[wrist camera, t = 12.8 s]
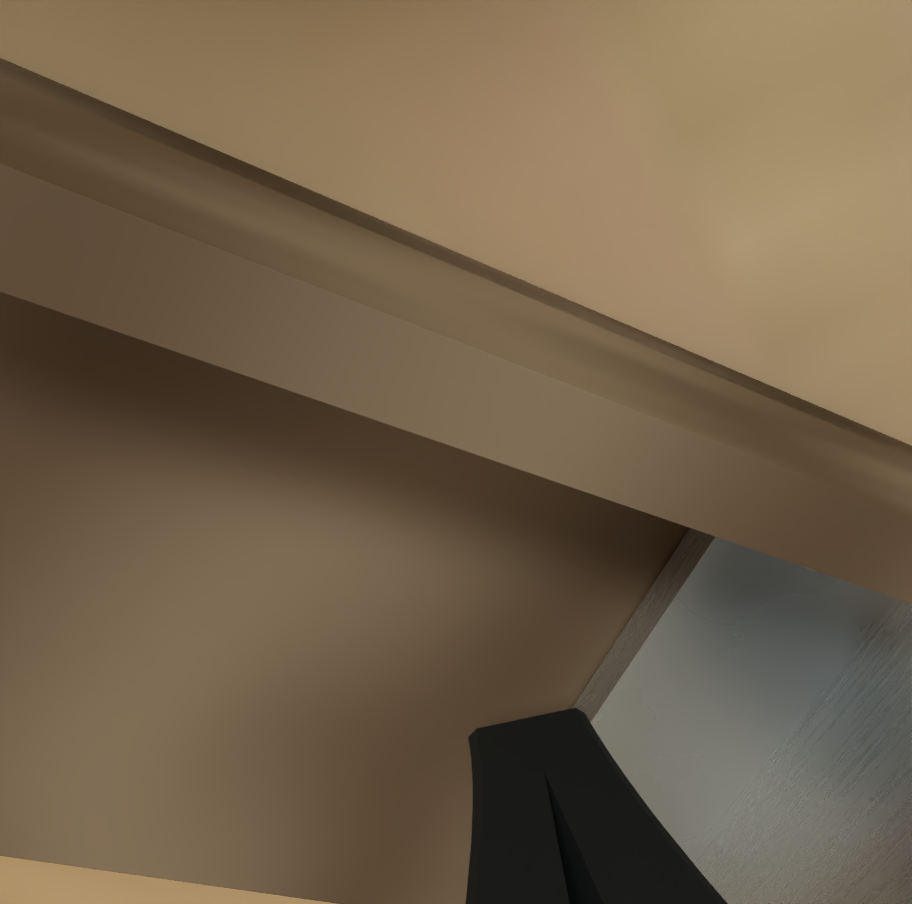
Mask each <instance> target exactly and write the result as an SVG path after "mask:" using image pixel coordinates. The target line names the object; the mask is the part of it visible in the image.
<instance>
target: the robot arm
mask: <svg viewBox="0 0 912 904" xmlns="http://www.w3.org/2000/svg"><path fill="white" fill-rule="evenodd" d="M468 740H469V746H470V753H471V763H472V782H473V809H472V834H471V850H470V861H469V872H468V883H467V894H466V904H728V903H727V902H726V901H725V900H724V899H723V898H722V896H721V895H720V894H719V893H718V892H717V891H716V889H715V888H714V887H713V886H712V885H711V884H710V882H709V881H708V880H707V879H706V878H705V877H704V875H703V874H702V873H701V872H700V871H699V869H698V868H697V867H696V866H695V864H694V863H693V862H692V861H691V860H690V858H689V857H688V856H687V855H686V853H685V852H684V851H683V850H682V849H681V847H680V846H679V845H678V844H677V842H676V841H675V840H674V839H673V838H672V836H671V835H670V834H669V833H668V831H667V830H666V829H665V828H664V826H663V825H662V824H661V823H660V821H659V820H658V819H657V817H656V816H655V815H654V814H653V812H652V811H651V810H650V808H649V807H648V806H647V804H646V803H645V802H644V800H643V799H642V798H641V796H640V795H639V794H638V792H637V791H636V790H635V788H634V787H633V785H632V784H631V783H630V781H629V780H628V779H627V777H626V776H625V775H624V773H623V772H622V770H621V769H620V767H619V766H618V764H617V763H616V762H615V760H614V759H613V757H612V756H611V754H610V753H609V751H608V750H607V748H606V747H605V745H604V744H603V742H602V741H601V739H600V737H599V736H598V734H597V733H596V731H595V729H594V728H593V726H592V724H591V723H590V721H589V719H588V717H587V716H586V714H585V713H584V712H582V711H581V710H579V709H577V708H572V709H567V710H562V711H557V712H553V713H548V714H543V715H538V716H534V717H529V718H524V719H519V720H515V721H510V722H505V723H500V724H496V725H491V726H486V727H481V728H477V729H475V731H474V732H473V733H472V734H471V735H470V736H469V737H468Z"/></svg>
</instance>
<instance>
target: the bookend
mask: <svg viewBox="0 0 912 904" xmlns="http://www.w3.org/2000/svg"><path fill="white" fill-rule="evenodd" d="M572 708H577V709H579V710H581V711H582V712H584V713H585V714H586V716H587V717H588V719H589V721H590V723H591V724H592V726H593V728H594V729H595V731H596V733H597V734H598V736H599V737H600V739H601V741H602V742H603V744H604V745H605V747H606V748H607V750H608V751H609V753H610V754H611V756H612V757H613V759H614V760H615V762H616V763H617V764H618V766H619V767H620V769H621V770H622V772H623V773H624V775H625V776H626V777H627V779H628V780H629V781H630V783H631V784H632V785H633V787H634V788H635V790H636V791H637V792H638V794H639V795H640V796H641V798H642V799H643V800H644V802H645V803H646V804H647V806H648V807H649V808H650V810H651V811H652V812H653V814H654V815H655V816H656V817H657V819H658V820H659V821H660V823H661V824H662V825H663V826H664V828H665V829H666V830H667V831H668V833H669V834H670V835H671V836H672V838H673V839H674V840H675V841H676V842H677V844H678V845H679V846H680V847H681V849H682V850H683V851H684V852H685V853H686V855H687V856H688V857H689V858H690V860H691V861H692V862H693V863H694V864H695V866H696V867H697V868H698V869H699V871H700V872H701V873H702V874H703V875H704V877H705V878H706V879H707V880H708V881H709V882H710V884H711V885H712V886H713V887H714V888H715V889H716V891H717V892H718V893H719V894H720V895H721V896H722V898H723V899H724V900H725V901H726V902H727V903H728V904H912V604H911V603H908V602H905V601H902V600H899V599H896V598H893V597H890V596H888V595H885V594H882V593H879V592H876V591H873V590H870V589H867V588H864V587H861V586H858V585H855V584H853V583H850V582H847V581H844V580H841V579H838V578H835V577H832V576H829V575H826V574H823V573H820V572H817V571H815V570H812V569H809V568H806V567H803V566H800V565H797V564H794V563H791V562H788V561H785V560H782V559H779V558H777V557H774V556H771V555H768V554H765V553H762V552H759V551H756V550H753V549H750V548H747V547H744V546H742V545H739V544H736V543H733V542H730V541H727V540H724V539H721V538H718V537H715V536H712V535H709V534H706V533H704V532H701V531H698V530H695V529H692V528H690V529H689V530H688V532H687V533H686V535H685V536H684V538H683V539H682V541H681V543H680V544H679V546H678V547H677V549H676V550H675V552H674V553H673V555H672V556H671V558H670V559H669V561H668V562H667V564H666V565H665V567H664V568H663V570H662V572H661V573H660V575H659V576H658V578H657V579H656V581H655V582H654V584H653V585H652V587H651V588H650V590H649V591H648V593H647V594H646V596H645V597H644V599H643V601H642V602H641V604H640V605H639V607H638V608H637V610H636V611H635V613H634V614H633V616H632V617H631V619H630V620H629V622H628V623H627V625H626V626H625V628H624V630H623V631H622V633H621V634H620V636H619V637H618V639H617V640H616V642H615V643H614V645H613V646H612V648H611V649H610V651H609V652H608V654H607V655H606V657H605V658H604V660H603V662H602V663H601V665H600V666H599V668H598V669H597V671H596V672H595V674H594V675H593V677H592V678H591V680H590V681H589V683H588V684H587V686H586V687H585V689H584V691H583V692H582V694H581V695H580V697H579V698H578V700H577V701H576V703H575V704H574V706H573V707H572Z"/></svg>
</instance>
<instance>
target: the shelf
mask: <svg viewBox="0 0 912 904" xmlns="http://www.w3.org/2000/svg"><path fill="white" fill-rule="evenodd" d="M690 528H692V529H695V530H698V531H701V532H704V533H706V534H709V535H712V536H715V537H718V538H721V539H724V540H727V541H730V542H733V543H736V544H739V545H742V546H744V547H747V548H750V549H753V550H756V551H759V552H762V553H765V554H768V555H771V556H774V557H777V558H779V559H782V560H785V561H788V562H791V563H794V564H797V565H800V566H803V567H806V568H809V569H812V570H815V571H817V572H820V573H823V574H826V575H829V576H832V577H835V578H838V579H841V580H844V581H847V582H850V583H853V584H855V585H858V586H861V587H864V588H867V589H870V590H873V591H876V592H879V593H882V594H885V595H888V596H890V597H893V598H896V599H899V600H902V601H905V602H908V603H911V604H912V446H911V445H908V444H906V443H903V442H901V441H899V440H896V439H894V438H892V437H889V436H887V435H885V434H882V433H880V432H878V431H875V430H873V429H871V428H868V427H866V426H864V425H861V424H859V423H856V422H854V421H852V420H849V419H847V418H845V417H842V416H840V415H838V414H835V413H833V412H831V411H828V410H826V409H824V408H821V407H819V406H817V405H814V404H812V403H809V402H807V401H805V400H802V399H800V398H798V397H795V396H793V395H791V394H788V393H786V392H784V391H781V390H779V389H777V388H774V387H772V386H769V385H767V384H765V383H762V382H760V381H758V380H755V379H753V378H751V377H748V376H746V375H744V374H741V373H739V372H737V371H734V370H732V369H730V368H727V367H725V366H722V365H720V364H718V363H715V362H713V361H711V360H708V359H706V358H704V357H701V356H699V355H697V354H694V353H692V352H690V351H687V350H685V349H683V348H680V347H678V346H675V345H673V344H671V343H668V342H666V341H664V340H661V339H659V338H657V337H654V336H652V335H650V334H647V333H645V332H643V331H640V330H638V329H636V328H633V327H631V326H628V325H626V324H624V323H621V322H619V321H617V320H614V319H612V318H610V317H607V316H605V315H603V314H600V313H598V312H596V311H593V310H591V309H589V308H586V307H584V306H581V305H579V304H577V303H574V302H572V301H570V300H567V299H565V298H563V297H560V296H558V295H556V294H553V293H551V292H549V291H546V290H544V289H542V288H539V287H537V286H534V285H532V284H530V283H527V282H525V281H523V280H520V279H518V278H516V277H513V276H511V275H509V274H506V273H504V272H502V271H499V270H497V269H495V268H492V267H490V266H487V265H485V264H483V263H480V262H478V261H476V260H473V259H471V258H469V257H466V256H464V255H462V254H459V253H457V252H455V251H452V250H450V249H448V248H445V247H443V246H440V245H438V244H436V243H433V242H431V241H429V240H426V239H424V238H422V237H419V236H417V235H415V234H412V233H410V232H408V231H405V230H403V229H401V228H398V227H396V226H393V225H391V224H389V223H386V222H384V221H382V220H379V219H377V218H375V217H372V216H370V215H368V214H365V213H363V212H361V211H358V210H356V209H353V208H351V207H349V206H346V205H344V204H342V203H339V202H337V201H335V200H332V199H330V198H328V197H325V196H323V195H321V194H318V193H316V192H314V191H311V190H309V189H306V188H304V187H302V186H299V185H297V184H295V183H292V182H290V181H288V180H285V179H283V178H281V177H278V176H276V175H274V174H271V173H269V172H267V171H264V170H262V169H259V168H257V167H255V166H252V165H250V164H248V163H245V162H243V161H241V160H238V159H236V158H234V157H231V156H229V155H227V154H224V153H222V152H220V151H217V150H215V149H212V148H210V147H208V146H205V145H203V144H201V143H198V142H196V141H194V140H191V139H189V138H187V137H184V136H182V135H180V134H177V133H175V132H173V131H170V130H168V129H165V128H163V127H161V126H158V125H156V124H154V123H151V122H149V121H147V120H144V119H142V118H140V117H137V116H135V115H133V114H130V113H128V112H126V111H123V110H121V109H118V108H116V107H114V106H111V105H109V104H107V103H104V102H102V101H100V100H97V99H95V98H93V97H90V96H88V95H86V94H83V93H81V92H79V91H76V90H74V89H71V88H69V87H67V86H64V85H62V84H60V83H57V82H55V81H53V80H50V79H48V78H46V77H43V76H41V75H39V74H36V73H34V72H32V71H29V70H27V69H24V68H22V67H20V66H17V65H15V64H13V63H10V62H8V61H6V60H3V59H1V58H0V856H6V857H13V858H20V859H27V860H34V861H41V862H48V863H55V864H62V865H69V866H76V867H83V868H90V869H97V870H105V871H112V872H119V873H126V874H133V875H140V876H147V877H154V878H161V879H168V880H175V881H182V882H189V883H196V884H203V885H210V886H217V887H224V888H232V889H239V890H246V891H253V892H260V893H267V894H274V895H281V896H288V897H295V898H302V899H309V900H316V901H323V902H330V903H337V904H466V894H467V883H468V872H469V861H470V850H471V834H472V809H473V782H472V763H471V753H470V746H469V740H468V737H469V736H470V735H471V734H472V733H473V732H474V731H475V729H477V728H481V727H486V726H491V725H496V724H500V723H505V722H510V721H515V720H519V719H524V718H529V717H534V716H538V715H543V714H548V713H553V712H557V711H562V710H567V709H572V707H573V706H574V704H575V703H576V701H577V700H578V698H579V697H580V695H581V694H582V692H583V691H584V689H585V687H586V686H587V684H588V683H589V681H590V680H591V678H592V677H593V675H594V674H595V672H596V671H597V669H598V668H599V666H600V665H601V663H602V662H603V660H604V658H605V657H606V655H607V654H608V652H609V651H610V649H611V648H612V646H613V645H614V643H615V642H616V640H617V639H618V637H619V636H620V634H621V633H622V631H623V630H624V628H625V626H626V625H627V623H628V622H629V620H630V619H631V617H632V616H633V614H634V613H635V611H636V610H637V608H638V607H639V605H640V604H641V602H642V601H643V599H644V597H645V596H646V594H647V593H648V591H649V590H650V588H651V587H652V585H653V584H654V582H655V581H656V579H657V578H658V576H659V575H660V573H661V572H662V570H663V568H664V567H665V565H666V564H667V562H668V561H669V559H670V558H671V556H672V555H673V553H674V552H675V550H676V549H677V547H678V546H679V544H680V543H681V541H682V539H683V538H684V536H685V535H686V533H687V532H688V530H689V529H690Z"/></svg>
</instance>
